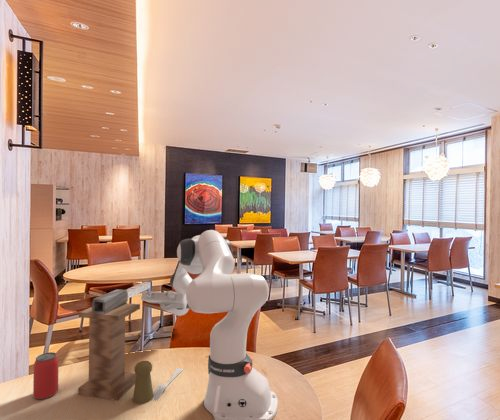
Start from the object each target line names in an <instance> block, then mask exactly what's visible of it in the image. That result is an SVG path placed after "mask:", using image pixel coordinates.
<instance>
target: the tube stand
mask: <svg viewBox="0 0 500 420" xmlns="http://www.w3.org/2000/svg"><path fill="white" fill-rule="evenodd" d="M128 300H129V298H128V292H127V290H126V289H115V290H111V291H110V292H108V293H105V294H102V295H100V296H97V297H95V298H93V299H92V301H91V306H90V307H88V308H86V309H83V310H81V311H79V312H78V317H79V318H85V319H89V322H88V324H89V328H88V330H89V331H88V333H89V335H88V339H89V340H88V380H87V381H86V382H84V383H83V384H82V385H80V386H79V387H77V395H79V396H85V397H93V398H99V399H104V400H105V399H106V400H111V401H119V400H120V399H121V398H122V397H123V396H124V395H125V394H126V393H127V392H128V391H129V390H130V389H131V388H132V387H134V386H135V382H136V374H135V372H134V373H132V372H127V371H125V370H126V369H125V366H126V365H125V359H126V357H125V355H126V354H125V352H126V348H125V347H126V317H128V316H130V315H132V314H133V313H135V312H137V311H138V310H139V311H140V309H141V304H140V303H128Z"/></svg>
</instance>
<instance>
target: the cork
mask: <svg viewBox="0 0 500 420" xmlns="http://www.w3.org/2000/svg"><path fill="white" fill-rule="evenodd" d="M152 371H153V364H152V363H151V361H149V360H141V361H138V362H137V363H136V364H135V366H134V373H135V374H136V382H135V384H134V389H133V397H132V401H133V403H134V404H138V405H143V404H147V403H149V402H151V401H153V400H152V398H153V395H154V391H153V383H152V376H151V375H152V374H151V373H152ZM153 399H154V398H153Z"/></svg>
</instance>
